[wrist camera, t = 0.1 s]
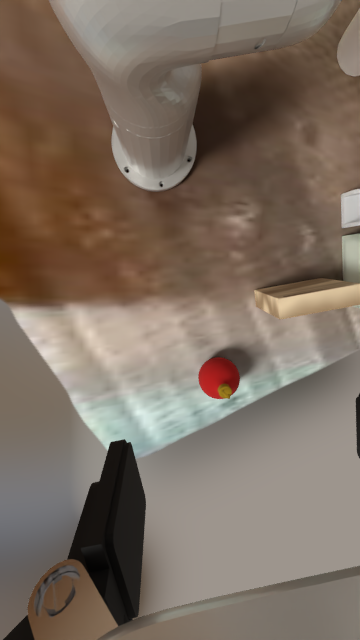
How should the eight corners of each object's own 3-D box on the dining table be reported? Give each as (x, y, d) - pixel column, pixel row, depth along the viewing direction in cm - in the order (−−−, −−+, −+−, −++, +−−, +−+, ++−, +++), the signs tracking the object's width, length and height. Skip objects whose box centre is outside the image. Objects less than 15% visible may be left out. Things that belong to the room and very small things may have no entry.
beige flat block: (254, 289, 47) (278, 298, 37) (320, 277, 47) (361, 283, 37) (256, 306, 48) (280, 319, 38) (321, 294, 48) (361, 304, 38)
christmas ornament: (188, 370, 49) (194, 397, 40) (215, 343, 49) (229, 365, 39) (214, 393, 51) (226, 426, 41) (241, 368, 50) (260, 395, 40)
